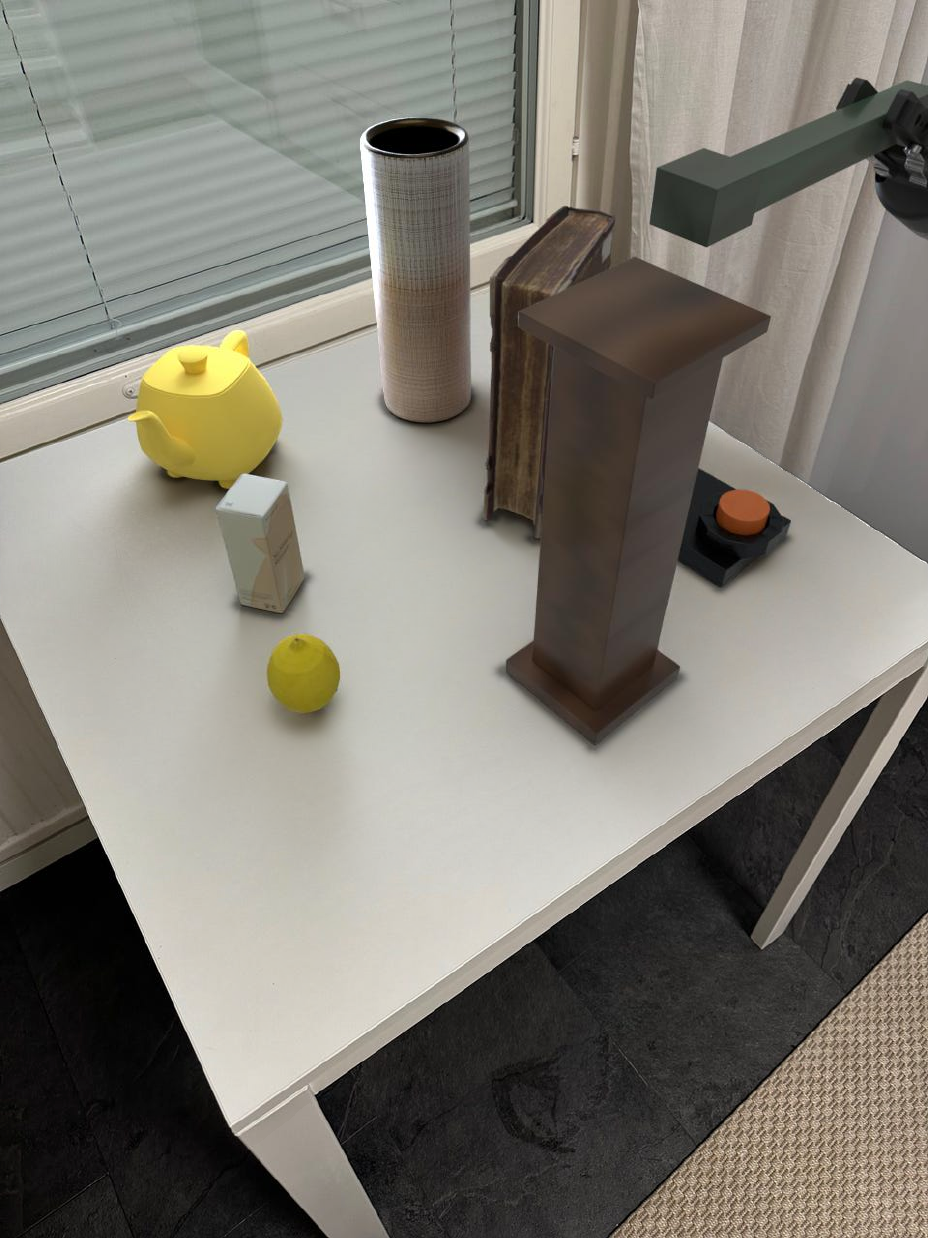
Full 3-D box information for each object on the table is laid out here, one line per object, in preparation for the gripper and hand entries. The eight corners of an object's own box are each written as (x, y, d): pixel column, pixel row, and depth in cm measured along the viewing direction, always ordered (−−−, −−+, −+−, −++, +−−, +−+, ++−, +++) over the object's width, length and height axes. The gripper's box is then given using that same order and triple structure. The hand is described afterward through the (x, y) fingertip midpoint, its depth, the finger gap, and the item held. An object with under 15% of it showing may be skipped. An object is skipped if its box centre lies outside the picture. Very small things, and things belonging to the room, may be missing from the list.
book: (552, 431, 97) (570, 194, 78) (612, 451, 94) (645, 211, 76) (475, 520, 87) (475, 273, 68) (540, 544, 84) (557, 295, 66)
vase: (489, 395, 101) (491, 132, 81) (429, 435, 96) (416, 164, 76) (425, 365, 106) (412, 108, 86) (366, 401, 101) (337, 137, 81)
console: (796, 544, 84) (807, 511, 81) (731, 595, 80) (741, 562, 77) (685, 479, 91) (692, 447, 88) (620, 523, 86) (625, 490, 83)
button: (775, 520, 81) (779, 505, 80) (745, 542, 79) (750, 527, 78) (735, 497, 83) (739, 482, 82) (705, 518, 81) (709, 503, 80)
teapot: (106, 509, 89) (64, 402, 80) (207, 400, 101) (180, 297, 92) (226, 536, 86) (196, 428, 77) (314, 420, 98) (297, 316, 89)
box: (283, 615, 78) (260, 519, 70) (238, 605, 79) (211, 509, 71) (307, 575, 82) (288, 479, 74) (264, 566, 83) (241, 470, 75)
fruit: (261, 708, 72) (242, 642, 66) (312, 667, 74) (297, 600, 68) (309, 745, 69) (293, 680, 63) (359, 701, 72) (348, 635, 66)
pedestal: (677, 677, 73) (771, 315, 50) (594, 745, 69) (654, 382, 45) (588, 612, 78) (634, 256, 55) (505, 671, 74) (518, 311, 50)
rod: (938, 132, 58) (956, 80, 56) (706, 247, 47) (717, 189, 45) (882, 116, 60) (898, 66, 58) (648, 224, 49) (656, 167, 47)
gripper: (888, 104, 69) (806, 10, 56) (1070, 153, 62) (1024, 58, 49) (836, 204, 72) (747, 136, 59) (1004, 261, 65) (945, 199, 52)
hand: (873, 101), depth 54 cm, fingers closed on rod, 2 cm apart
